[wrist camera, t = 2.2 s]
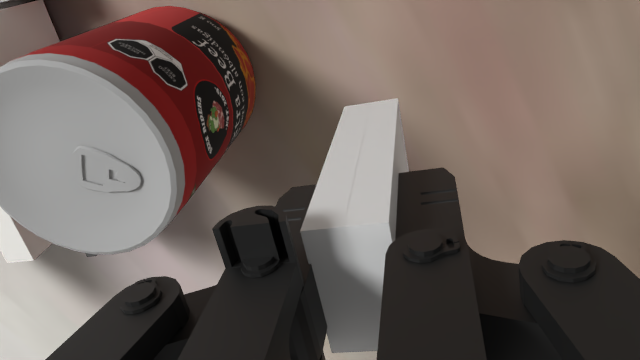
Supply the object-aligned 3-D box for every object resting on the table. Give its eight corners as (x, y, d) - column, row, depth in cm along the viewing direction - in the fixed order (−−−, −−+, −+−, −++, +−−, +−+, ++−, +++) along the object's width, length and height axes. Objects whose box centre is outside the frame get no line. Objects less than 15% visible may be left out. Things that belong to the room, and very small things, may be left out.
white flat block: (17, 5, 27) (-121, 38, 20) (42, -1, 27) (-90, 31, 20) (114, 222, 33) (32, 307, 26) (135, 219, 32) (58, 305, 25)
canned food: (270, 141, 29) (198, 258, 19) (137, 145, 30) (8, 256, 21) (247, -4, 25) (146, 49, 16) (99, 8, 27) (-77, 65, 17)
